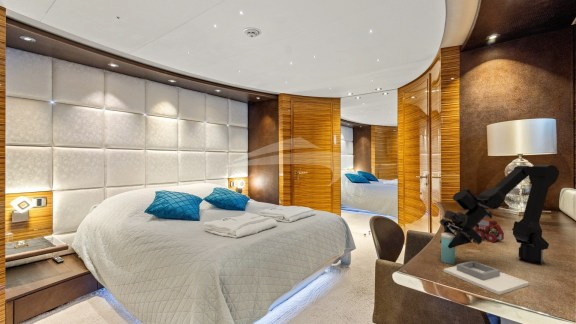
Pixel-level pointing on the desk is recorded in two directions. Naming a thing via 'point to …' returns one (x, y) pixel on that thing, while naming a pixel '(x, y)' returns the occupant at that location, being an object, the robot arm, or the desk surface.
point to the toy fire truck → (485, 229)
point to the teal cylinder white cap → (447, 248)
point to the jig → (486, 277)
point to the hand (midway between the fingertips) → (444, 245)
